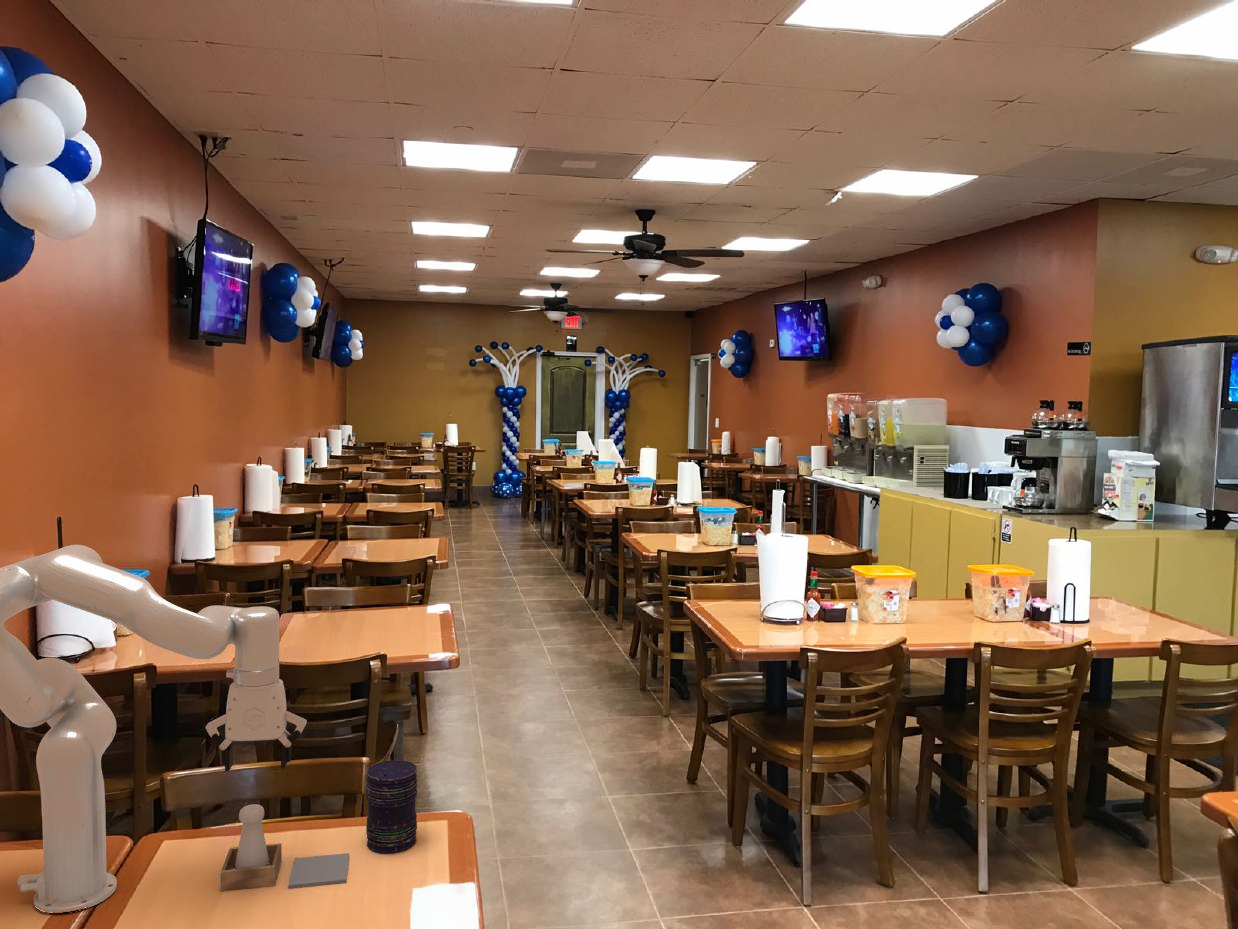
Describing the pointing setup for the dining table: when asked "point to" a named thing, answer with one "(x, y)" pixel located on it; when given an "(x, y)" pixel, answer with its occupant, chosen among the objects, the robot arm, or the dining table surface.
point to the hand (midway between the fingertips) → (256, 767)
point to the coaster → (319, 870)
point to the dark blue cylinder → (391, 806)
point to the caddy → (250, 871)
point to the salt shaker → (252, 839)
